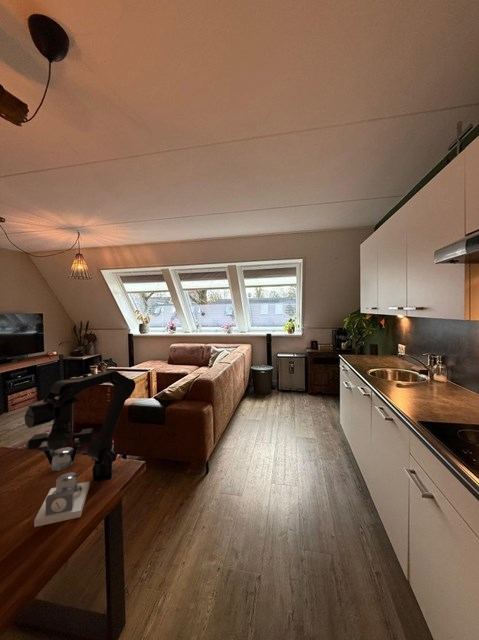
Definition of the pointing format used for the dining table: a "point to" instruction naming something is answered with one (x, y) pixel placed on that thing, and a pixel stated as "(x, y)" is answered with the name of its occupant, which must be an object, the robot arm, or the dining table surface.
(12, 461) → the dining table surface
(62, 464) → the silver flared knob
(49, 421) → the robot arm
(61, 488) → the silver round piece
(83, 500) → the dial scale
